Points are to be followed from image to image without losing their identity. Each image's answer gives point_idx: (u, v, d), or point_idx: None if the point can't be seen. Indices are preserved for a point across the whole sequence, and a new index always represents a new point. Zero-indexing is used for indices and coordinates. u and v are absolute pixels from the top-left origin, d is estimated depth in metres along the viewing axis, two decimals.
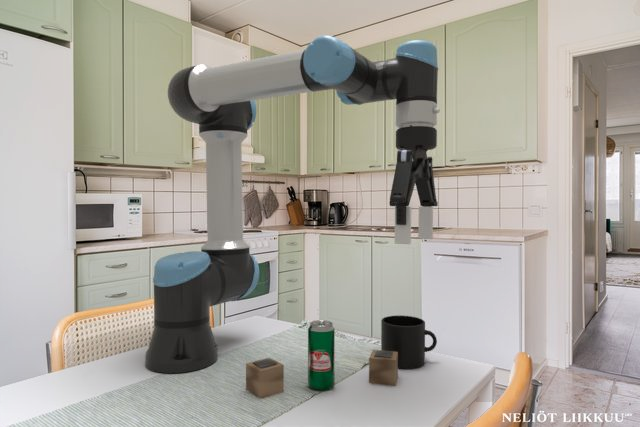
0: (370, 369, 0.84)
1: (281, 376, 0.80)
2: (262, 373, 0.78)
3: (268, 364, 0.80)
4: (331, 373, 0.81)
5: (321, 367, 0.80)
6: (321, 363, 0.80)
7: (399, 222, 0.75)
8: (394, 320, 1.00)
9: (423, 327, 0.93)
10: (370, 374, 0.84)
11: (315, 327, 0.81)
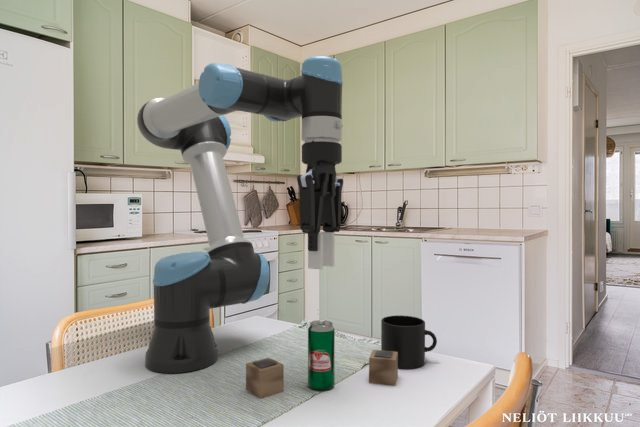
0: (370, 369, 0.84)
1: (281, 376, 0.80)
2: (262, 373, 0.78)
3: (268, 364, 0.80)
4: (331, 373, 0.81)
5: (321, 367, 0.80)
6: (321, 363, 0.80)
7: (310, 248, 0.79)
8: (394, 320, 1.00)
9: (423, 327, 0.93)
10: (370, 374, 0.84)
11: (315, 327, 0.81)
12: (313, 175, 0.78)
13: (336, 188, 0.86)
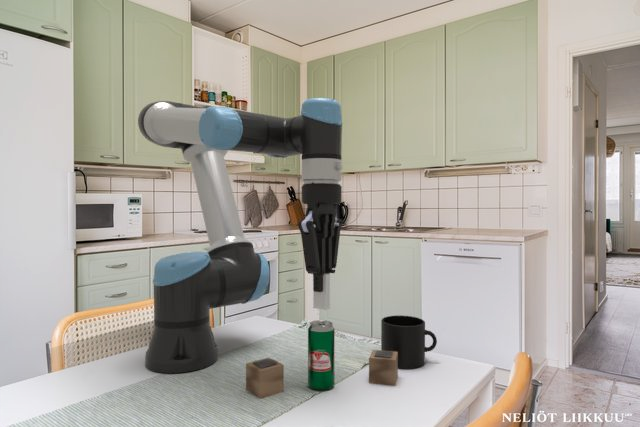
0: (370, 369, 0.84)
1: (281, 376, 0.80)
2: (262, 373, 0.78)
3: (268, 364, 0.80)
4: (331, 373, 0.81)
5: (321, 367, 0.80)
6: (321, 363, 0.80)
7: (316, 289, 0.81)
8: (394, 320, 1.00)
9: (423, 327, 0.93)
10: (370, 374, 0.84)
11: (315, 327, 0.81)
12: (313, 218, 0.79)
13: (335, 228, 0.86)
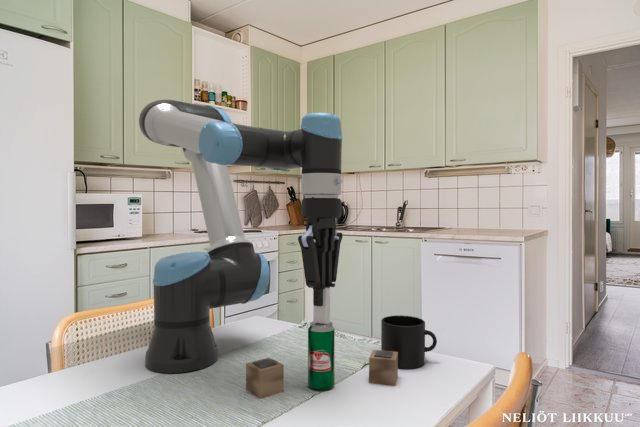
0: (370, 369, 0.84)
1: (281, 376, 0.80)
2: (262, 373, 0.78)
3: (268, 364, 0.80)
4: (331, 374, 0.81)
5: (321, 368, 0.80)
6: (321, 363, 0.80)
7: (316, 303, 0.81)
8: (394, 320, 1.00)
9: (423, 327, 0.93)
10: (370, 374, 0.84)
11: (315, 327, 0.81)
12: (313, 233, 0.79)
13: (335, 241, 0.86)
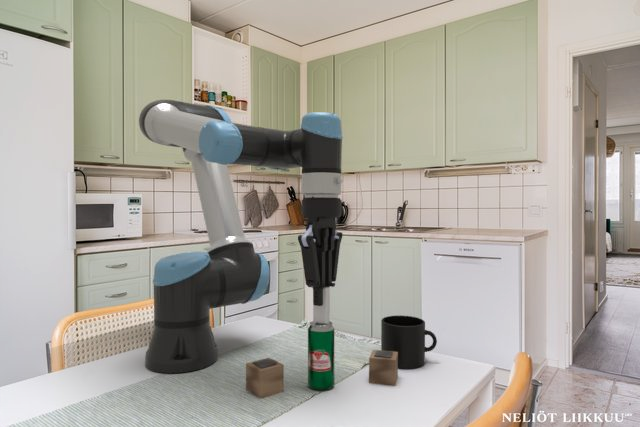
0: (370, 369, 0.84)
1: (281, 376, 0.80)
2: (262, 373, 0.78)
3: (268, 364, 0.80)
4: (331, 373, 0.81)
5: (321, 367, 0.80)
6: (321, 363, 0.80)
7: (315, 303, 0.81)
8: (394, 320, 1.00)
9: (423, 327, 0.93)
10: (370, 374, 0.84)
11: (315, 327, 0.81)
12: (313, 232, 0.79)
13: (335, 241, 0.86)
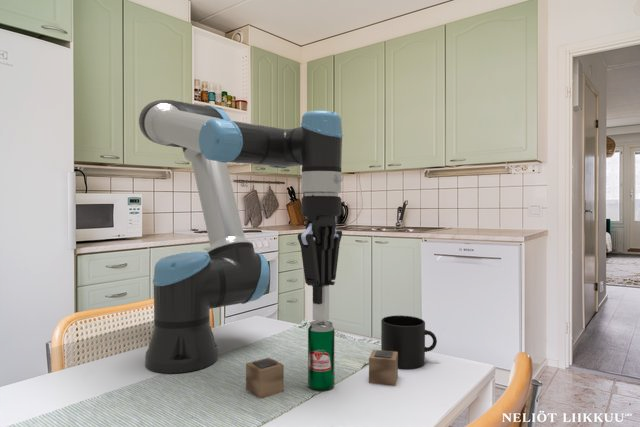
0: (370, 369, 0.84)
1: (281, 376, 0.80)
2: (262, 373, 0.78)
3: (268, 364, 0.80)
4: (331, 373, 0.81)
5: (321, 367, 0.80)
6: (321, 363, 0.80)
7: (315, 301, 0.81)
8: (394, 320, 1.00)
9: (423, 327, 0.93)
10: (370, 374, 0.84)
11: (315, 327, 0.81)
12: (313, 231, 0.79)
13: (334, 239, 0.86)
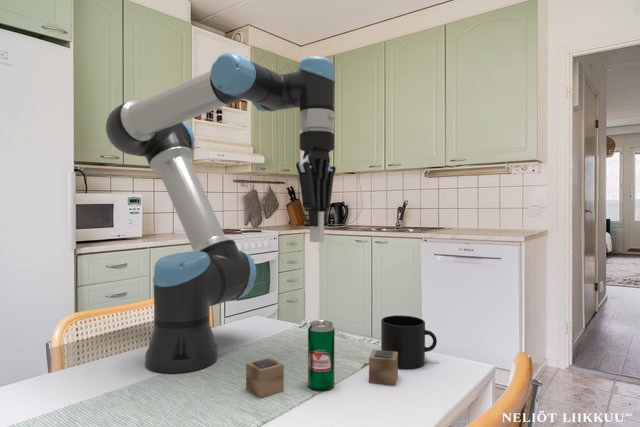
0: (370, 369, 0.84)
1: (281, 376, 0.80)
2: (262, 373, 0.78)
3: (268, 364, 0.80)
4: (331, 373, 0.81)
5: (321, 367, 0.80)
6: (321, 363, 0.80)
7: (311, 224, 0.93)
8: (394, 320, 1.00)
9: (423, 327, 0.93)
10: (370, 374, 0.84)
11: (315, 327, 0.81)
12: (309, 161, 0.91)
13: (329, 173, 0.98)
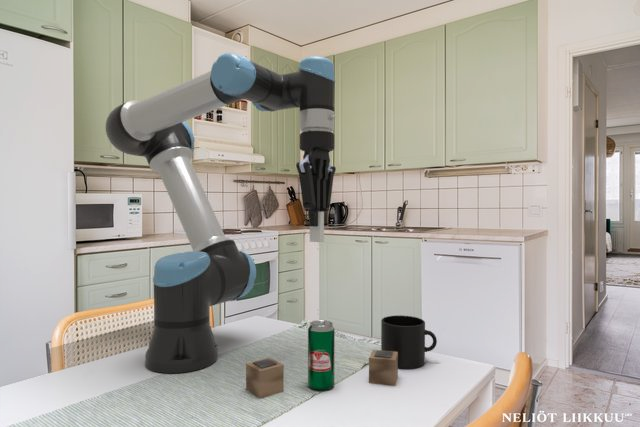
0: (370, 369, 0.84)
1: (281, 376, 0.80)
2: (262, 373, 0.78)
3: (268, 364, 0.80)
4: (331, 373, 0.81)
5: (321, 367, 0.80)
6: (321, 363, 0.80)
7: (311, 224, 0.93)
8: (394, 320, 1.00)
9: (423, 327, 0.93)
10: (370, 374, 0.84)
11: (315, 327, 0.81)
12: (310, 161, 0.91)
13: (329, 173, 0.98)
